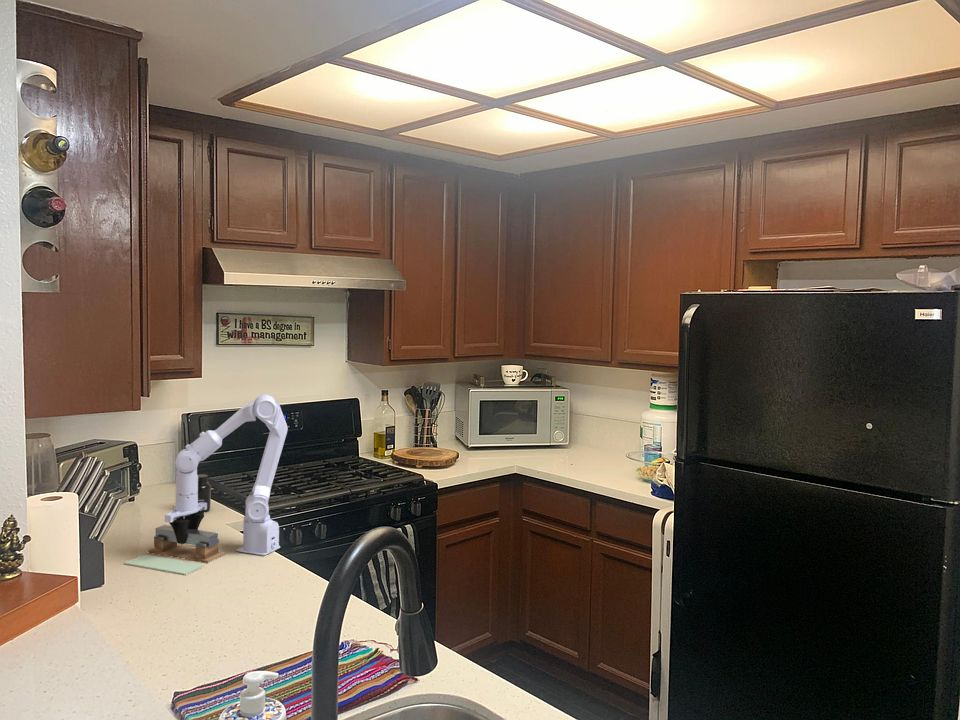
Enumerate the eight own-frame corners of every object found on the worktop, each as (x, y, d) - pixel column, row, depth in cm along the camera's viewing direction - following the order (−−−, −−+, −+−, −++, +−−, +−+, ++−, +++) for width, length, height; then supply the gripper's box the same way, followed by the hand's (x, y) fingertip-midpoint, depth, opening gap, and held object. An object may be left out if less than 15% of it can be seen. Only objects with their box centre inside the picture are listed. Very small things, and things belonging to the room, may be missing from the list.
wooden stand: (224, 555, 202) (224, 538, 202) (207, 563, 196) (207, 546, 196) (166, 545, 209) (166, 529, 208) (147, 552, 202) (147, 536, 202)
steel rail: (217, 543, 201) (217, 533, 201) (209, 547, 198) (209, 536, 197) (164, 535, 206) (164, 524, 206) (155, 538, 203) (155, 528, 203)
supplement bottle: (196, 515, 239) (196, 479, 239) (184, 511, 244) (184, 475, 243) (214, 510, 245) (215, 475, 244) (203, 507, 249) (203, 472, 248)
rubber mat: (204, 566, 193) (204, 565, 193) (186, 575, 187) (186, 573, 186) (143, 556, 199) (143, 554, 199) (123, 564, 193) (124, 562, 193)
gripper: (192, 485, 209) (192, 532, 210) (155, 497, 195) (155, 546, 196) (213, 488, 207) (212, 535, 208) (177, 500, 193) (176, 550, 194)
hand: (186, 541), depth 202 cm, fingers closed on steel rail, 3 cm apart
